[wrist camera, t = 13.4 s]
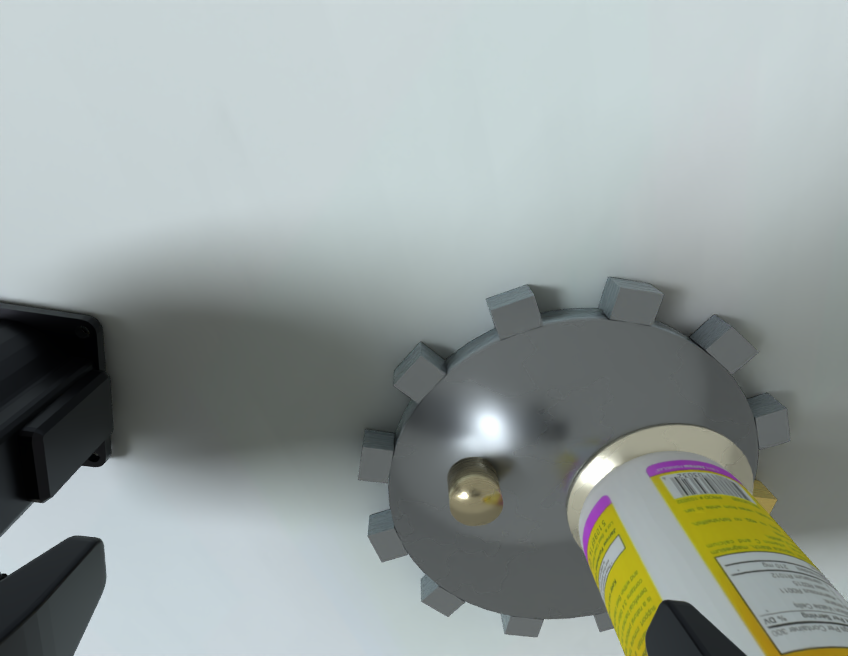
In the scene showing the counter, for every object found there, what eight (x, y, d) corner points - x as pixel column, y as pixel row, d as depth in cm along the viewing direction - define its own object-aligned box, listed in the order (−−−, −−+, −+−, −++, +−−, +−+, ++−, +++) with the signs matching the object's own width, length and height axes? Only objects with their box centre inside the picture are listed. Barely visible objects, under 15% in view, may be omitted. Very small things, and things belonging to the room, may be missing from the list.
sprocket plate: (340, 595, 25) (331, 651, 22) (393, 241, 18) (391, 263, 16) (682, 629, 26) (711, 686, 24) (845, 315, 20) (910, 346, 17)
